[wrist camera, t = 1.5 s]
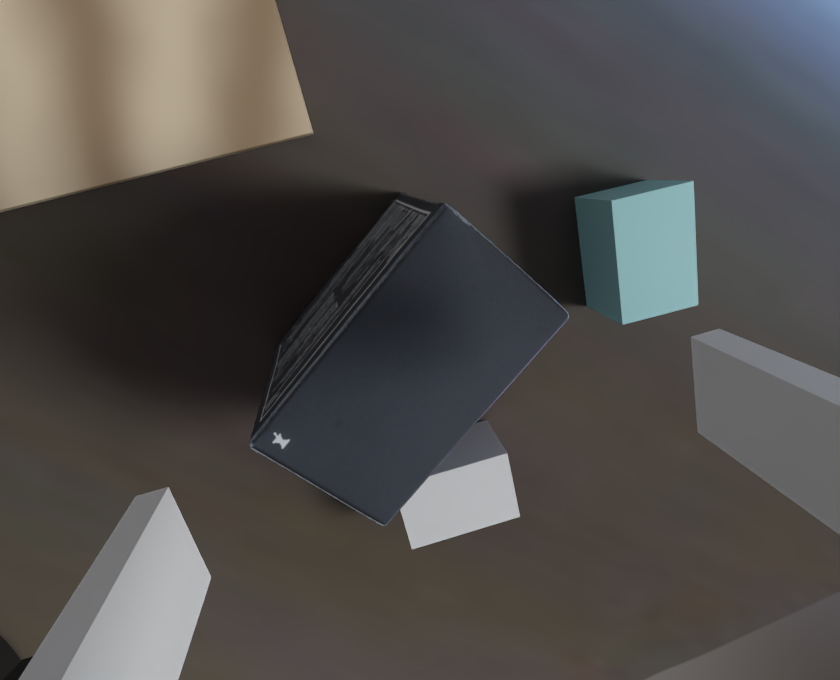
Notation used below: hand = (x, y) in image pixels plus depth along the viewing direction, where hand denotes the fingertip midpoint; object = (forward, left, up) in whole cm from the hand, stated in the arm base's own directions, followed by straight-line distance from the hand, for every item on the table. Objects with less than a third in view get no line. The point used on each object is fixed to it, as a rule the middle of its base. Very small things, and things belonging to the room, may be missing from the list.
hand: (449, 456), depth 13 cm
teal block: (+13, 0, -16) cm, 20 cm away
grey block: (+1, -10, -16) cm, 19 cm away
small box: (0, 0, -16) cm, 16 cm away
